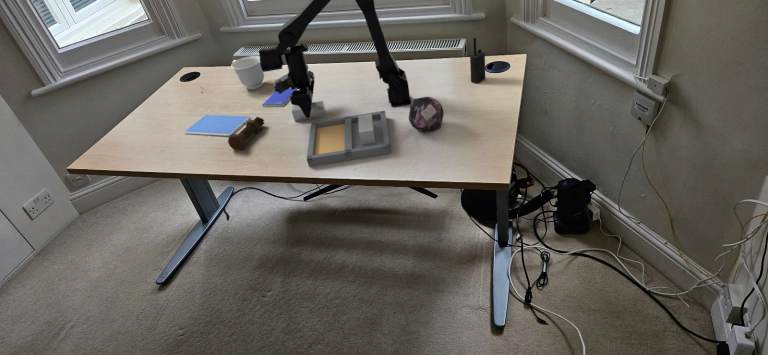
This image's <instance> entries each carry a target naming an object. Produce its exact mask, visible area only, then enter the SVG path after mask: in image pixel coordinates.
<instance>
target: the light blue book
mask: <svg viewBox="0 0 768 355" xmlns="http://www.w3.org/2000/svg"><path fill="white" fill-rule="evenodd" d="M249 120H251V117H250V116H248V115H220V114H205V115H203V116H202V117H201V118H200V119H198V120H197V121H195V123H194V124H192V125H191V126H189V127H188V128H186V130H184V133H185V134H184V135H198V134H199V135H201V136H218V137H219V136H220V137H229V136H230V135H231V134H236V133H237V132H238V131H239V130H240V129H241V128H242V127H244V126H245V125H246V124H247V121H249ZM199 135H198V136H199Z"/></svg>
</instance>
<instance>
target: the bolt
mask: <svg viewBox="0 0 768 355" xmlns="http://www.w3.org/2000/svg"><path fill="white" fill-rule="evenodd" d="M264 125H265V120H264V118H261V117H259V116H256V117H255V118H254V119H249V120H248V121H247V122H246V123H245V127H244V128H243V129H242V130H241V131H239V133H234V134H231V135H230V136H228V138H227V143H228V145H229V147H230V148H231V149H232V150H234V151H243V150H244V149H245V148H246V147H247V146H246V145H247V141H248V140H249V139H251V137H252V136H253V135H258V134H259V133H260V132H261V130H262V127H263V126H264Z"/></svg>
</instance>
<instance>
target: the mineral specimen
mask: <svg viewBox="0 0 768 355" xmlns="http://www.w3.org/2000/svg"><path fill="white" fill-rule="evenodd" d="M408 114H409V115H408V121H409V124H410V125H411V127H412V128H414V129H415V130H417V131H420V132H422V133H429V132H434V131H438V130H440V129H441V127H442V125H443V120H444V108H443V105H442V104H441V103H440V101H439V100H437V99H435V98H433V97H431V96H423V97H417V98H415V99H413V100H411V104H410V106H409V113H408Z"/></svg>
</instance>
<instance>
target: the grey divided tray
mask: <svg viewBox="0 0 768 355" xmlns="http://www.w3.org/2000/svg"><path fill="white" fill-rule="evenodd" d="M308 138H309V139H308V145H307V153H306V161H307V165H308V167H316V166H322V165H326V164H327V165H328V164H333V163H340V162H345V161H352V160H358V159H364V158H372V157H378V156H384V155H390V154H392V149H391V142H390V136H389V128H388V123H387V117H386V110H381V111H374V112H367V113H362V114H361V113H360V114H354V115H349V116H343V117H338V118H337V117H336V118H331V119H325V120H317V121H312V122H311V123H310V130H309V137H308Z"/></svg>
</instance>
